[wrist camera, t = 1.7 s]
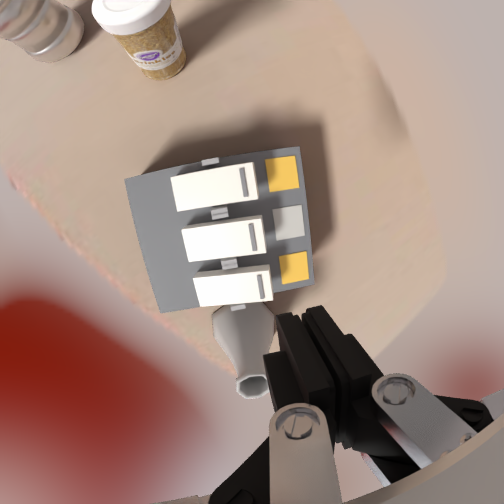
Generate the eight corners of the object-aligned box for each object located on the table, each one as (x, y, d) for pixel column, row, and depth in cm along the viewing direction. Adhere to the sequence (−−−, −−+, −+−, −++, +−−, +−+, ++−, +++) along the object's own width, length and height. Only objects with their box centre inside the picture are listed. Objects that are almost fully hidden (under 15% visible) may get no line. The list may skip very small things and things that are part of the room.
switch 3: (196, 272, 23) (192, 279, 22) (269, 264, 23) (268, 271, 21) (203, 299, 24) (200, 307, 23) (273, 293, 24) (273, 301, 22)
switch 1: (175, 175, 21) (169, 177, 20) (253, 161, 20) (252, 162, 19) (182, 208, 22) (176, 212, 20) (259, 196, 21) (257, 199, 20)
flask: (264, 287, 30) (284, 342, 21) (282, 338, 33) (304, 398, 23) (200, 309, 30) (196, 370, 21) (225, 357, 33) (230, 420, 23)
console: (140, 174, 25) (117, 180, 19) (286, 147, 26) (308, 144, 20) (168, 289, 29) (157, 323, 23) (301, 264, 30) (322, 292, 24)
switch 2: (186, 225, 22) (180, 230, 21) (262, 214, 21) (260, 219, 20) (193, 256, 23) (188, 262, 22) (266, 247, 22) (266, 253, 21)
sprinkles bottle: (147, 88, 22) (94, 37, 10) (137, 51, 21) (85, -13, 8) (193, 71, 23) (175, 3, 10) (180, 35, 21) (159, -43, 8)
